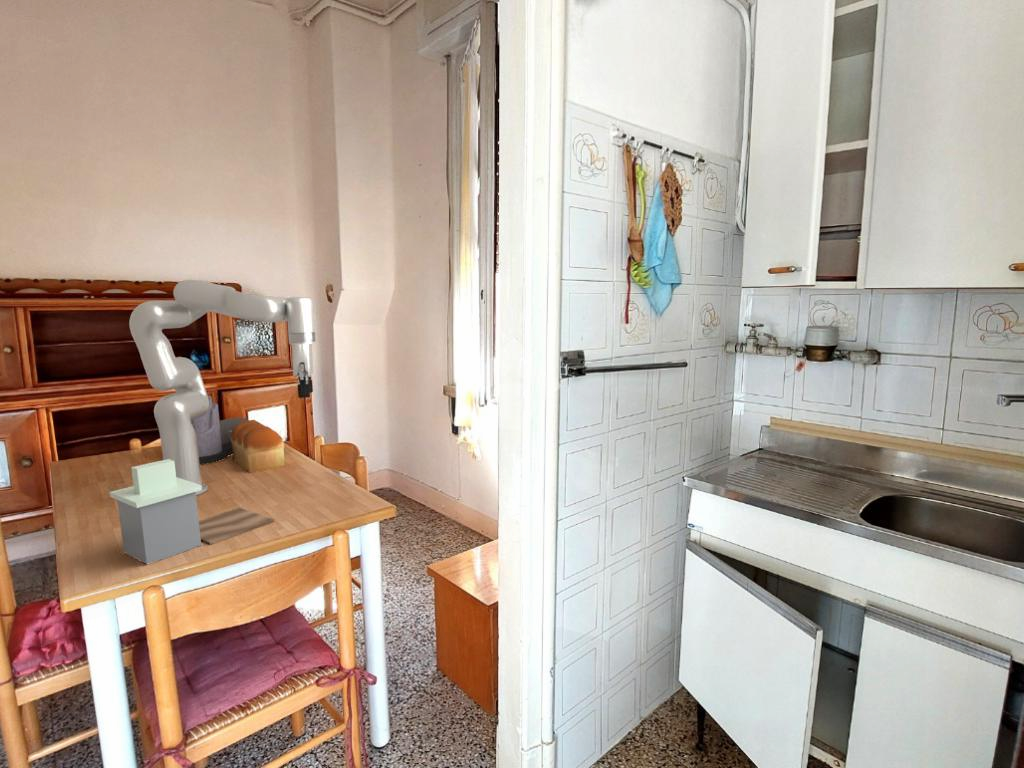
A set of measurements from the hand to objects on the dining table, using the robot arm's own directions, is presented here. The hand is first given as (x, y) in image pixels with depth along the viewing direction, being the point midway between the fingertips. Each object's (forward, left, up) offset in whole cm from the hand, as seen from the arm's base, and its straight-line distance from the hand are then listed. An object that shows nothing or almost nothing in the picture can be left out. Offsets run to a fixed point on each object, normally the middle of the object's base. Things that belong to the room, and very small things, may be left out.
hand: (305, 395), depth 168 cm
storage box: (+4, -45, -31) cm, 55 cm away
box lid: (+4, -45, -18) cm, 49 cm away
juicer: (-71, +8, -31) cm, 78 cm away
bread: (-47, +10, -31) cm, 57 cm away
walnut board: (+3, -29, -31) cm, 42 cm away
